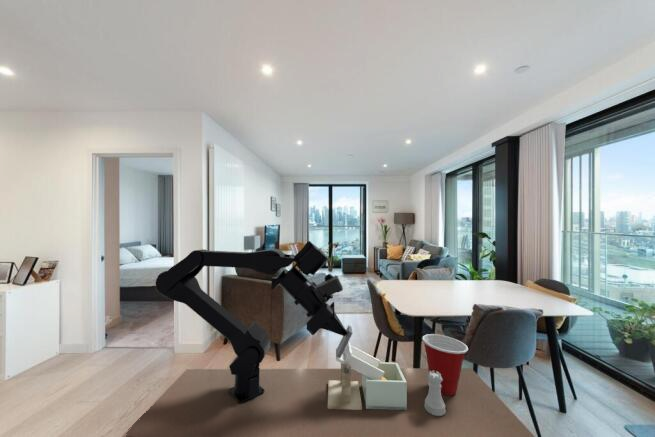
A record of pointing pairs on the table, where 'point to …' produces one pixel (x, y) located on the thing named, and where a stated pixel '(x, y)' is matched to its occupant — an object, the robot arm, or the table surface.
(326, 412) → the table surface
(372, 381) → the pale green open box
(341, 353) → the chute
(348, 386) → the stand
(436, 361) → the plastic cup
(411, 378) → the table surface
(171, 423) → the table surface
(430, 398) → the rook chess piece
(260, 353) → the robot arm
